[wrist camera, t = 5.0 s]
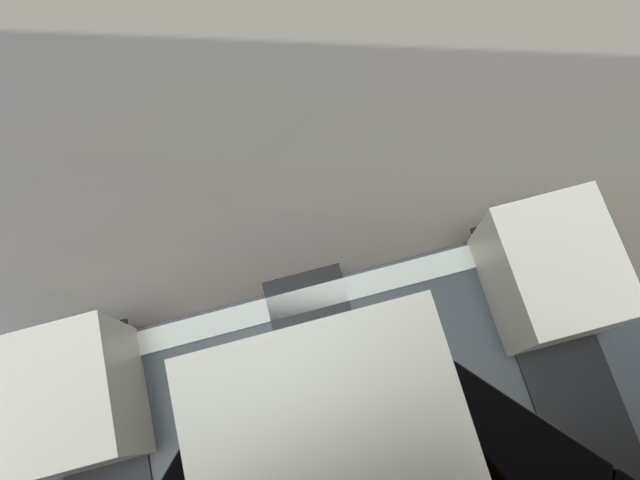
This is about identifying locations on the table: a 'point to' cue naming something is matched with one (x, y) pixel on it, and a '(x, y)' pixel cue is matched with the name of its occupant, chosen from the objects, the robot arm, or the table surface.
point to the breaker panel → (345, 295)
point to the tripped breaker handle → (329, 401)
